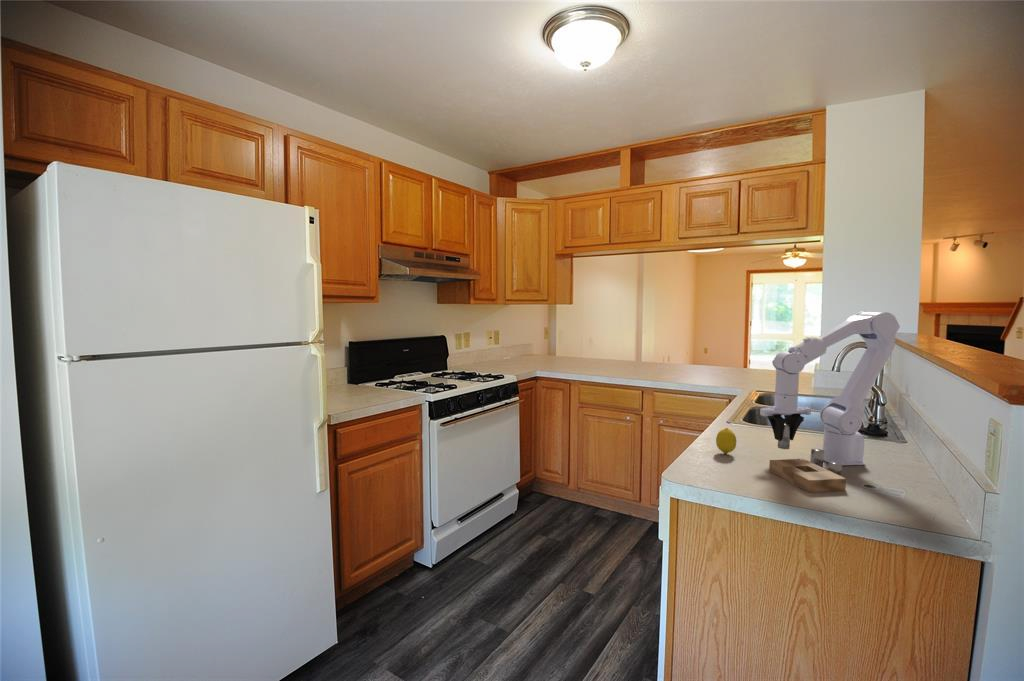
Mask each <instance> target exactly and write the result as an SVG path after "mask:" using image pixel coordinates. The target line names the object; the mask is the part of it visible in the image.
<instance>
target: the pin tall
mask: <svg viewBox="0 0 1024 681" xmlns="http://www.w3.org/2000/svg"><path fill="white" fill-rule="evenodd" d="M790 430H791V424H788V423H785V425H784V428H783V437H782V441H779V440H777V448H778V449H781V450H789V449H790V446H791V444H790V442H791V440H790Z"/></svg>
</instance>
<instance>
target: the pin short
mask: <svg viewBox="0 0 1024 681" xmlns="http://www.w3.org/2000/svg"><path fill="white" fill-rule="evenodd" d="M842 468H843V466H842V464H841V463H839V462H835V461H828V462H827V470H829V471H831V472H833V473H835V474H837V475H840V476H842Z"/></svg>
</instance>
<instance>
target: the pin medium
mask: <svg viewBox="0 0 1024 681" xmlns="http://www.w3.org/2000/svg"><path fill="white" fill-rule="evenodd" d="M809 462H811V463H814V464H816V465H818V466H820V467H822V468H824V450H823V448H822V449H821V448H817V447H814V448H813V447H812V448H810V460H809Z"/></svg>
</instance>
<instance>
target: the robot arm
mask: <svg viewBox="0 0 1024 681" xmlns="http://www.w3.org/2000/svg"><path fill="white" fill-rule="evenodd" d="M899 329H900V324H899V322H898V320H897V318H896V315H894V314H892V313H891V312H887V311H885V312H884V311H882V312H879V311H878V312H877V311H874V312H873V311H866V310H864V311H862V310H861V311H859V312H857V313H855V315H851V316H849V317H847V319H846V320H845V321H843V322H841V323H839V324H838V325H837V326H835V327H834V328H832V329H830V330H828V331H827V332H826V333H824V334H823V335H821V336H820V337H815V336H811V337H805V338H803V341H802V342H800V343H799V344H796V345H795V346H790V347H789V348H788V351H784V350H783V351H780V352H778V353H777V354H776V355H775V357H774V359H772V361H771V362H772V366H773V367H774V369H775V383H774V384H775V386H774V387H775V388H774V389H775V390H774V405H773V406H771V407H763V408H760V409H759V415H760V416H761V417H764V418H765V417H767V419H768V421H769V424H770V426H771V428H772V432H773V436H774V440H776V441H778V440H779V441H782V437H783V428H784V425H785V423H788V424H791V430H790V441H794V439H795V436H796V434H797V431H798V429H799V427H800V425H801V424H802V423H803V422H804V420H805V417H804V416H803V415H805V416H811V411H812V408H810V407H807V406H799V405H798V402H799V384H800V382H799V381H800V373H801V372H802V371H803V370H804V368H805V366H806V365H807V364H809V363H811V362H813V361H814V360H817V359H818V358H820V357H822V356H824V355H825V354H826V353H827V348H829V347H830V346H833V345H835V344H837V343H839V342H841V341H843V340H845V339H847V338H849V337H851V336H854V335H859V336H860V338H861V339H862V340H864V343H865V345H866V349H865V350H864V353H863V354H862V356H861V358H860V360H859V361H858V363H857V365H856V367H855V368H854V370H853V372H852V373H851V375H850V377H849V379H848V381H847V382H846V384H845V385H844V388H843V389H842V390H841V392H840V393H839V395H837V396H836V397H834V398H832V399H830V401H829V402H828V404H827V405H825V406H823V407H822V408H821V410H820V413H819V419H820V420H821V422H822V423H823V428H824V429H823V439H822V440H823V442H822V443H823V444H822V450H824V460H823V462H826V463H828V461H835V462H839V463H841V464H842V467H843V466H862V465H863V466H864V465H866V462H864V451H865V439H864V437H863V434H862V433H860V432H859V430H860V429H861V428H862V425H863V417H864V415H865V414H866V412H865V410H864V407H863V406H862V405H863V402H864V401H865V399H866V397H867V396H868V394H869V392H870V390H871V389H872V388H873V386H874V383H875V382H876V380H877V379H878V377H879V376H880V373H881V372H882V370H883V368H884V366H886V363H887V361H888V360H889V359H890V357H891V355H892V353H893V351H894V349H895V344H896V334H897V332H898V331H899ZM783 416H784V417H783Z"/></svg>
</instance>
